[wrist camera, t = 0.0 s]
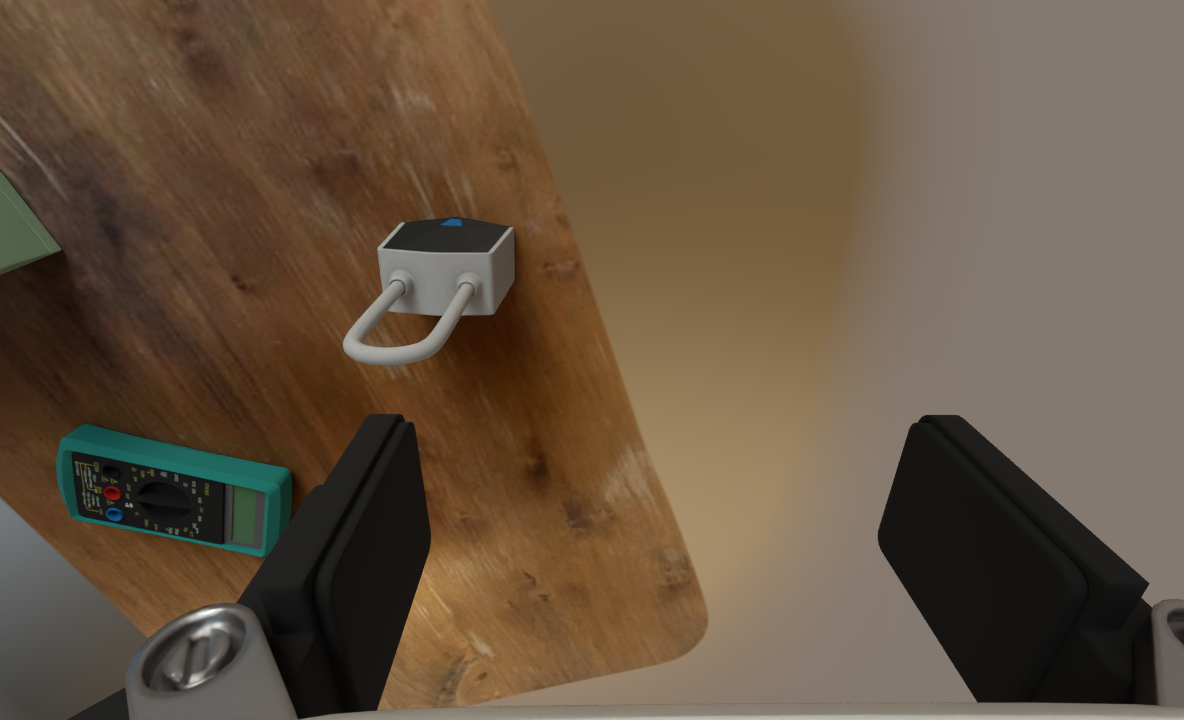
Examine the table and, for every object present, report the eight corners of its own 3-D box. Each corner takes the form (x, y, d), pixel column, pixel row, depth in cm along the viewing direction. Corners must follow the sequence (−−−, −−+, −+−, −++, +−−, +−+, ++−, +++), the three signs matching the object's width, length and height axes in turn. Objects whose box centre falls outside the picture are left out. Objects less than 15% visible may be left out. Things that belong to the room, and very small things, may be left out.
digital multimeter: (78, 416, 39) (41, 440, 37) (298, 464, 41) (278, 490, 39) (87, 496, 42) (54, 523, 40) (291, 537, 44) (273, 566, 42)
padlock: (513, 219, 34) (467, 311, 20) (514, 286, 36) (473, 411, 22) (400, 214, 33) (277, 304, 20) (407, 282, 35) (299, 406, 22)
